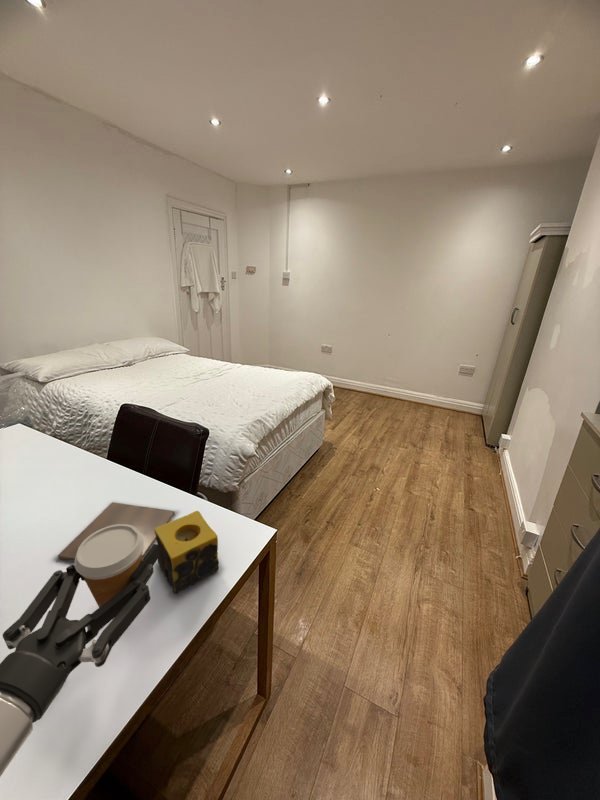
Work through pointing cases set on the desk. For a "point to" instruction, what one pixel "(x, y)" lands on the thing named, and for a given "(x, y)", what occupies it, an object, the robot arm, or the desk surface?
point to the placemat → (123, 514)
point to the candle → (187, 551)
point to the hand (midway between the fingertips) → (133, 546)
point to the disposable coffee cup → (109, 560)
